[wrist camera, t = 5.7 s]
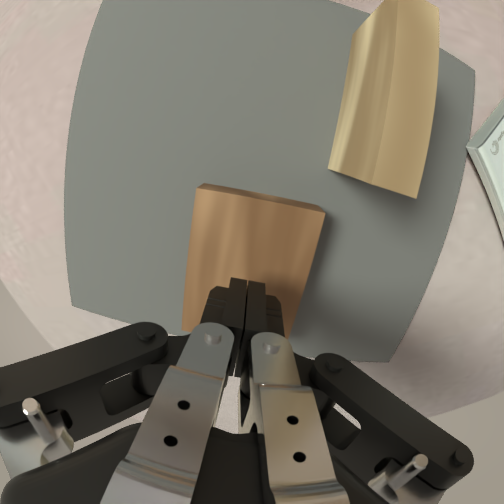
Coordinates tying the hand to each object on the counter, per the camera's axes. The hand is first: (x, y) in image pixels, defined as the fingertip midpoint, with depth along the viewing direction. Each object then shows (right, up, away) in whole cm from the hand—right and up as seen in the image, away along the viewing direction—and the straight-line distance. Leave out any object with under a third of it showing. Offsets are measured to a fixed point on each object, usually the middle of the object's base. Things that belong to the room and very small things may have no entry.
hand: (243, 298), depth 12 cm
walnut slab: (+3, 0, +3) cm, 4 cm away
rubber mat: (+1, +6, +2) cm, 6 cm away
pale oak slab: (+6, +10, 0) cm, 11 cm away
